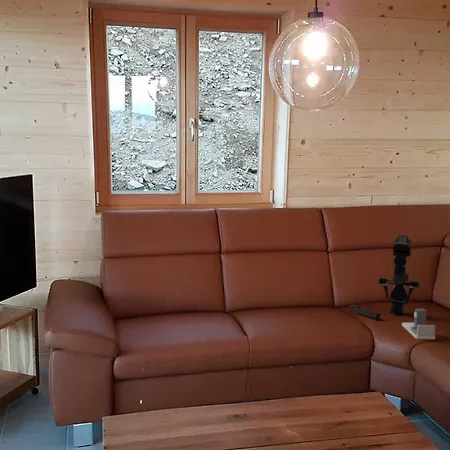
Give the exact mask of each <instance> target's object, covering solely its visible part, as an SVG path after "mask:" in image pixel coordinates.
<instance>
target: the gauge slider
mask: <svg viewBox="0 0 450 450" xmlns="http://www.w3.org/2000/svg"><path fill="white" fill-rule="evenodd" d="M414 310H415V311H414V313H413V317H414V319H413V320H414V321H413V323H414V326H411V327H414V328H415V329H416V330H417V325H427V323H426V322H427V313H428V312H427V310H426V309H425V308H415V309H414Z"/></svg>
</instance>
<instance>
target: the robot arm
mask: <svg viewBox="0 0 450 450" xmlns="http://www.w3.org/2000/svg"><path fill="white" fill-rule="evenodd" d="M411 247H412V241H411V239H409V235H408V236H407V235H404V234H403V235H402V234H399V235H397V238H395V239H394V245H393V249H392V256H393V257H394V260H393V275H392V280H389V279H388V278H383V277H382V278H381V277H380V278H379V279H378V285H380V286H381V287H383V289H384V293H385V296H386V300H387V301H388V300H389V299H390V303H391V306H390V307H391V308H390V310H389V311H388V313H390V312H391V313H390V314H392V315H395V314H396V315H395V316H401V315H402V314H403V315H406V314H407V312H406V311H405V305H407V304H409V301H410V298H411V295H412V293H413V292H414V291H415V290H417V289H419V288H420V282H419V281H410V282H409V273H407V261H408V260H407V258H409V257H411V253H412V248H411ZM388 285H394V286H393V287H392V290H391V291H390V298H389V287H388ZM406 287H409V288H408V289H409V290H408V292H407V289H406ZM403 315H402V316H403Z"/></svg>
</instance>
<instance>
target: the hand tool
mask: <svg viewBox="0 0 450 450" xmlns="http://www.w3.org/2000/svg"><path fill="white" fill-rule="evenodd" d="M349 312H352V313H353V314H356V315H357V314H359V315H362V316H365V317H368V318H370V319H373V318H374V320H375V321H378V320H377V319H379V320H380V318H381V313H379V312H375V311H373V310H369V309H365V308H363V307H361V306H360V305H358V304H356V303H355V304H354V303H352V304H350V305H349Z"/></svg>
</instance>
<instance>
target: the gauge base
mask: <svg viewBox="0 0 450 450" xmlns="http://www.w3.org/2000/svg"><path fill="white" fill-rule="evenodd" d="M401 326H402V327H403V328H404V329H405V330H406V331H408V333H410V334H411V335H412V337H414V338H415V339H416V340H435V339H436V335H435V332H436V325H434V324H425V325H417V330H416V329H415V328H414V327H411V326H414V322H402V323H401Z"/></svg>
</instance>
